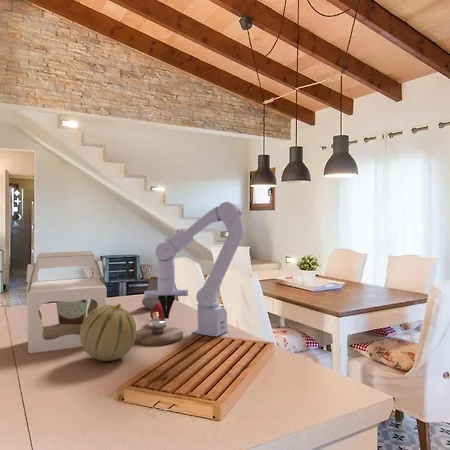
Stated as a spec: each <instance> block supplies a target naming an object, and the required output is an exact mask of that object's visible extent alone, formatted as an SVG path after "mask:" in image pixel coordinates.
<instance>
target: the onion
mask: <svg viewBox="0 0 450 450" xmlns="http://www.w3.org/2000/svg"><path fill="white" fill-rule="evenodd" d="M153 312H159V319H164V313H163V309H162V306H161V304H160V301H158V302H157V304H156V305H154V306H153V308H152V309H151V310H150V312H149V313H150V314H149V315H150V318H151V320H153Z"/></svg>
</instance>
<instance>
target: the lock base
mask: <svg viewBox="0 0 450 450" xmlns="http://www.w3.org/2000/svg"><path fill="white" fill-rule="evenodd" d="M183 339H184V331H183V330H181V329H180V328H177V327H172V326H166V327H164V328H150V327H147V328H146V327H145V328H140V329H136V338H135V343H134V344H136V343H138V344H137V345H140V344H144V345H143V346H147V345H159V346H166V345H173V344H175V343H177V342H180V341H182V340H183Z"/></svg>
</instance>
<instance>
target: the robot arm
mask: <svg viewBox="0 0 450 450" xmlns="http://www.w3.org/2000/svg"><path fill="white" fill-rule="evenodd" d="M218 222H222V223H223V224H224V226H225V228H226V230H227V236H226V238H225V240H224V242H223V245H222V247H221V249H220V251H219V254H218V256H217V258H216V260H215V262H214V264H213V267H212V269H211V271H210V273H209V275H208V277H207V279H206V281H205V282H204V284H203V286H202V287H201V288H200V289H199V290H198V291H197V292H196V301H197V329H195V330H192V331H191V333H193V334H198V335H203V336H208V337H209V336H211V337H214V336H216V337H218V336H221V335H223V334H225V333H228V332H229V329H228V312H227V309H226V308H225V307H221V306H220V302H219V301H218V298H219V296H220V289H221V285H222V283H223V280H224V277H225V275H226V273H227V272H228V269H229V267H230V265H231V262H232V260H233V258H234V256H235V254H236V253H237V252H236V251H237V249H238V247H239V245H240V244H241V241H242V238H243V237H244V233H245V229H244V223H243V214H242V212H241V210H240V208H239V206H238V205H237V204H235V203H233V202H230V201H224V202H222V203H220V204H219V205H218V206H216V207H214V208H212V209H211V210H209V211H207V213H205V214H204V215H203V216H201V218H199V219H198V220H197V221H195V222H194V223H193V224H192V225H191V226H189V227H188V228H183V227H182V228H177V229H176V230H175V233H174V234H172V235H171V236H170V237H169V238H168V237H167V238H165V239H164V240H165V242H161V243H159V244H158V245H157V246H156V248H155V256H156V258H157V277H158V290H155V291H146V290H145V291H144V295H143V298H144V297H145V298H149V297H158V299H159V301H160V303H161V306H162V309H163V313H164V319H165V320H166V319H167V320H168V319H170V314H171V313H170V312H171V309H172V307H173V304H174V302H175V298H176V297H188V296H189V290H188V289H176V288H175V285H176V284H175V276H176V275H175V274H176V273H175V272H176V271H175V257H176V255H177V253H180V252H181V251H182V250H184V249H185V248H186V247H187V246H189V245H190V244H192V243H193V241H194V236H196V235H197V234H198V233H200V232H201V231H203V230H204V229H206V228H208V227H209V226H211V224H213V223H218ZM166 305H167V306H166Z"/></svg>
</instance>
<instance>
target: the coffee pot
mask: <svg viewBox="0 0 450 450" xmlns="http://www.w3.org/2000/svg"><path fill="white" fill-rule="evenodd" d="M147 281H148V285H147V288H146V290H145V291H155V290H158V276H155V277H154V276H152V277H151V276H149V277H147ZM158 301H159V299H158V297H149V298H145V297H144V296H143V298H142V300H141V303H142V306H143V307H144V308H146V310H150V311H151V309H152V308H153V306H154V305H156V304H157V302H158ZM160 304H161V303H160ZM166 307H167V305H166Z"/></svg>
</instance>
